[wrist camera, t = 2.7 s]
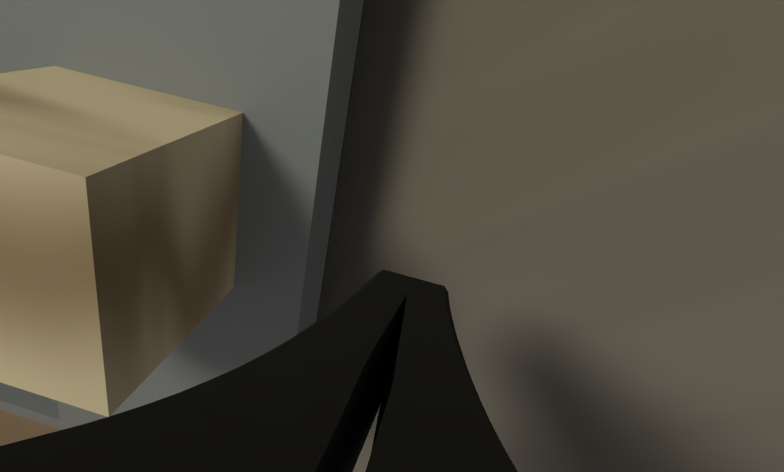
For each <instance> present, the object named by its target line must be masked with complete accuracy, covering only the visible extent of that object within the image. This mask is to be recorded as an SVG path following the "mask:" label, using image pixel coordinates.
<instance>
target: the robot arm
mask: <svg viewBox="0 0 784 472" xmlns="http://www.w3.org/2000/svg"><path fill="white" fill-rule="evenodd" d="M380 404H381V405H380ZM379 406H380V410H379V415H378V420H377V425H376V431H375V436H374V441H373V447H372V452H371V456H370V459H369V462H368V466H367V469H366V472H517V470H516V468H515V466H514V465H513V463H512V461H511V460H510V458H509V456H508V454H507V453H506V451H505V449H504V447H503V445H502V443H501V441H500V440H499V438H498V436H497V434H496V432H495V430H494V428H493V426H492V424H491V422H490V420H489V418H488V416H487V414H486V412H485V409H484V407H483V405H482V403H481V401H480V398H479V396H478V394H477V391H476V389H475V386H474V384H473V382H472V379H471V377H470V374H469V371H468V369H467V366H466V363H465V360H464V357H463V354H462V351H461V348H460V345H459V342H458V339H457V335H456V332H455V328H454V324H453V320H452V316H451V311H450V305H449V298H448V292H447V290H446V288H445V286H442V285H438V284H434V283H431V282H427V281H423V280H420V279H416V278H412V277H408V276H405V275H401V274H397V273H394V272H390V271H386V270H382V271H380V272H378V273H377V274H376V275H375V276H374V277H372V278H371V279H370V280H369V281H368V282H367V283H366V284H365V285H364V286H363V287H361V288H360V289H359V290H358V291H357V292H355V293H354V294H353V295H352V296H350V297H349V298H348V299H347V300H345V301H344V302H343V303H341V304H340V305H339V306H337V307H336V308H335V309H333V310H332V311H331V312H329V313H328V314H327V315H325V316H324V317H323V318H321V319H320V320H318V321H317V322H315V323H314V324H312V325H311V326H309V327H308V328H306V329H305V330H303V331H301V332H300V333H298V334H297V335H295V336H294V337H292V338H291V339H289V340H287V341H286V342H284V343H282V344H281V345H279V346H277V347H275V348H274V349H272V350H270V351H268V352H266V353H265V354H263V355H261V356H259V357H257V358H255V359H253V360H251V361H249V362H247V363H245V364H244V365H242V366H239V367H237V368H235V369H233V370H231V371H229V372H226V373H224V374H222V375H220V376H218V377H215V378H213V379H211V380H208V381H206V382H204V383H201V384H199V385H196V386H194V387H192V388H189V389H187V390H185V391H182V392H179V393H177V394H174V395H171V396H169V397H166V398H163V399H160V400H157V401H155V402H152V403H149V404H146V405H143V406H140V407H137V408H134V409H131V410H128V411H125V412H122V413H119V414H115V415H112V416H109V417H106V418H103V419H99V420H96V421H93V422H89V423H86V424H82V425H79V426H75V427H71V428H67V429H63V430H60V431H56V432H52V433H48V434H44V435H40V436H37V437H33V438H29V439H25V440H21V441H18V442H14V443H10V444H6V445H2V446H0V472H352V471H353V469H354V466H355V464H356V462H357V459H358V457H359V454H360V452H361V450H362V447H363V445H364V442H365V440H366V438H367V435H368V433H369V430H370V428H371V426H372V423H373V421H374V418H375V416H376V413H377V411H378V409H379Z"/></svg>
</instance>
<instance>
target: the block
mask: <svg viewBox="0 0 784 472" xmlns="http://www.w3.org/2000/svg"><path fill="white" fill-rule="evenodd" d="M242 124H243V112H239V111H235V110H231V109H227V108H223V107H219V106H215V105H211V104H207V103H203V102H198V101H194V100H190V99H186V98H182V97H178V96H174V95H170V94H166V93H162V92H158V91H154V90H150V89H146V88H142V87H138V86H134V85H130V84H126V83H122V82H118V81H114V80H109V79H105V78H101V77H97V76H93V75H89V74H85V73H81V72H77V71H73V70H69V69H65V68H61V67H57V66H51V67H43V68H36V69H29V70H21V71H14V72H6V73H0V382H1V383H4V384H7V385H10V386H13V387H16V388H19V389H23V390H26V391H29V392H32V393H35V394H38V395H41V396H44V397H47V398H51V399H54V400H57V401H60V402H63V403H66V404H69V405H72V406H75V407H79V408H82V409H85V410H88V411H91V412H94V413H97V414H100V415H103V416H107V417H109V416H111V415H112V414H113V412H114V411H115V410H116V409H117V408H118V407H119V406H120V405H121V404H122V403H123V402H124V401H125V400H126V399H127V398H128V397H129V396H130V395H131V394H132V393H133V392H134V391H135V390H136V389H137V387H138V386H139V385H140V384H141V383H142V382H143V381H144V380H145V379H146V378H147V377H148V376H149V375H150V374H151V373H152V372H153V371H154V370H155V369H156V368H157V367H158V366H159V365H160V364H161V362H162V361H163V360H164V359H165V358H166V357H167V356H168V355H169V354H170V353H171V352H172V351H173V350H174V349H175V348H176V347H177V346H178V345H179V344H180V343H181V342H182V341H183V340H184V338H185V337H186V336H187V335H188V334H189V333H190V332H191V331H192V330H193V329H194V328H195V327H196V326H197V325H198V324H199V323H200V322H201V321H202V320H203V319H204V318H205V317H206V316H207V315H208V313H209V312H210V311H211V310H212V309H213V308H214V307H215V306H216V305H217V304H218V303H219V302H220V301H221V300H222V299H223V298H224V297H225V296H226V295H227V294H228V293H229V292H230V291H231V289H232V288H233V287H234V278H235V258H236V239H237V220H238V201H239V182H240V162H241V143H242Z"/></svg>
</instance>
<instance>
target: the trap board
mask: <svg viewBox="0 0 784 472" xmlns="http://www.w3.org/2000/svg"><path fill="white" fill-rule="evenodd" d="M363 3H364V0H0V73H6V72H14V71H21V70H29V69H36V68H43V67H51V66H57V67H61V68H65V69H69V70H73V71H77V72H81V73H85V74H89V75H93V76H97V77H101V78H105V79H109V80H114V81H118V82H122V83H126V84H130V85H134V86H138V87H142V88H146V89H150V90H154V91H158V92H162V93H166V94H170V95H174V96H178V97H182V98H186V99H190V100H194V101H198V102H203V103H207V104H211V105H215V106H219V107H223V108H227V109H231V110H235V111H239V112H243V124H242V143H241V162H240V182H239V201H238V220H237V239H236V258H235V278H234V287H233V288H232V289H231V291H230V292H229V293H228V294H227V295H226V296H225V297H224V298H223V299H222V300H221V301H220V302H219V303H218V304H217V305H216V306H215V307H214V308H213V309H212V310H211V311H210V312H209V313H208V315H207V316H206V317H205V318H204V319H203V320H202V321H201V322H200V323H199V324H198V325H197V326H196V327H195V328H194V329H193V330H192V331H191V332H190V333H189V334H188V335H187V336H186V337H185V338H184V340H183V341H182V342H181V343H180V344H179V345H178V346H177V347H176V348H175V349H174V350H173V351H172V352H171V353H170V354H169V355H168V356H167V357H166V358H165V359H164V360H163V361H162V362H161V364H160V365H159V366H158V367H157V368H156V369H155V370H154V371H153V372H152V373H151V374H150V375H149V376H148V377H147V378H146V379H145V380H144V381H143V382H142V383H141V384H140V385H139V386H138V387H137V389H136V390H135V391H134V392H133V393H132V394H131V395H130V396H129V397H128V398H127V399H126V400H125V401H124V402H123V403H122V404H121V405H120V406H119V407H118V408H117V409H116V410H115V411H114V412H113V414H112V415H115V414H119V413H122V412H125V411H128V410H131V409H134V408H137V407H140V406H143V405H146V404H149V403H152V402H155V401H157V400H160V399H163V398H166V397H169V396H171V395H174V394H177V393H179V392H182V391H185V390H187V389H189V388H192V387H194V386H196V385H199V384H201V383H204V382H206V381H208V380H211V379H213V378H215V377H218V376H220V375H222V374H224V373H226V372H229V371H231V370H233V369H235V368H237V367H239V366H242V365H244V364H245V363H247V362H249V361H251V360H253V359H255V358H257V357H259V356H261V355H263V354H265V353H266V352H268V351H270V350H272V349H274V348H275V347H277V346H279V345H281V344H282V343H284V342H286V341H287V340H289V339H291V338H292V337H294V336H295V335H297V334H298V333H300V332H301V331H303V330H305V329H306V328H308V327H309V326H311V325H312V324H314V323H315V322H317V315H318V308H319V302H320V295H321V288H322V281H323V274H324V268H325V261H326V254H327V247H328V241H329V234H330V227H331V220H332V213H333V207H334V200H335V193H336V186H337V180H338V173H339V166H340V159H341V153H342V146H343V139H344V132H345V125H346V119H347V112H348V105H349V98H350V92H351V85H352V78H353V71H354V64H355V58H356V51H357V44H358V37H359V31H360V24H361V17H362V10H363ZM112 415H111V416H112ZM106 417H107V416H103V415H100V414H97V413H94V412H91V411H88V410H85V409H82V408H79V407H75V406H72V405H69V404H66V403H63V402H60V401H57V400H54V399H51V398H47V397H44V396H41V395H38V394H35V393H32V392H29V391H26V390H23V389H19V388H16V387H13V386H10V385H7V384H4V383H1V382H0V446H2V445H6V444H10V443H14V442H18V441H21V440H25V439H29V438H33V437H37V436H40V435H44V434H48V433H52V432H56V431H60V430H63V429H67V428H71V427H75V426H79V425H82V424H86V423H89V422H93V421H96V420H99V419H103V418H106Z"/></svg>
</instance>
